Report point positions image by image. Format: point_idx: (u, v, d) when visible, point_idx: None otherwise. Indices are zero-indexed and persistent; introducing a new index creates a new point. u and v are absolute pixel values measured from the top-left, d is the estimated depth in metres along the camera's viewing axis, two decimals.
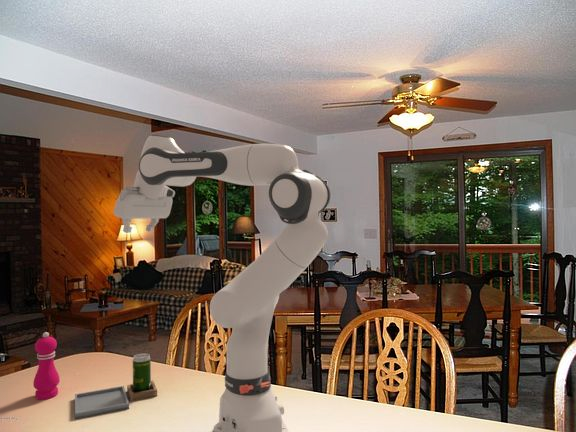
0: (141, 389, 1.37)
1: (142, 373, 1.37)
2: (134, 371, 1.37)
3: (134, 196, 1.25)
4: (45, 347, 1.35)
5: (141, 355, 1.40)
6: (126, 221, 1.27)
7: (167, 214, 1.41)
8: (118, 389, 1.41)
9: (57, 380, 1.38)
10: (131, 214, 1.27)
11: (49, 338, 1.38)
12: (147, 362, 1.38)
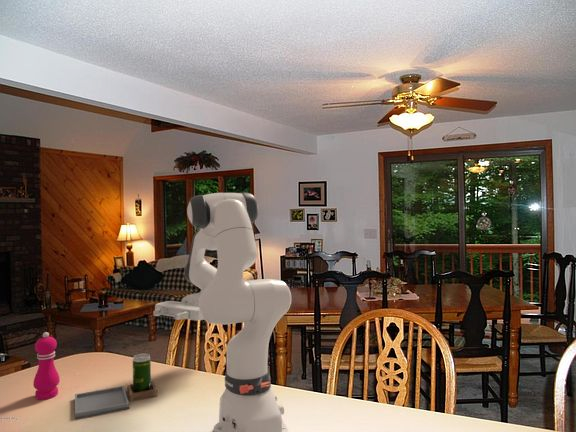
0: (141, 389, 1.37)
1: (142, 373, 1.37)
2: (134, 371, 1.37)
3: (173, 301, 1.62)
4: (45, 347, 1.35)
5: (141, 355, 1.40)
6: None
7: (197, 309, 1.50)
8: (118, 389, 1.41)
9: (57, 380, 1.38)
10: (163, 304, 1.57)
11: (49, 338, 1.38)
12: (147, 362, 1.38)
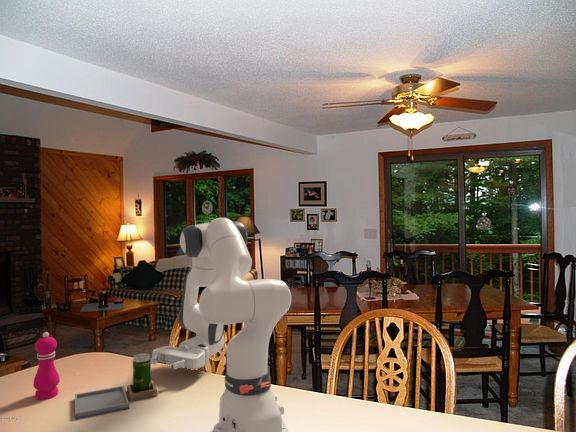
0: (141, 389, 1.37)
1: (142, 373, 1.37)
2: (134, 371, 1.37)
3: (170, 346, 1.61)
4: (45, 347, 1.35)
5: (141, 355, 1.40)
6: None
7: (194, 357, 1.49)
8: (118, 389, 1.41)
9: (57, 380, 1.38)
10: (160, 350, 1.56)
11: (49, 338, 1.38)
12: (147, 362, 1.38)
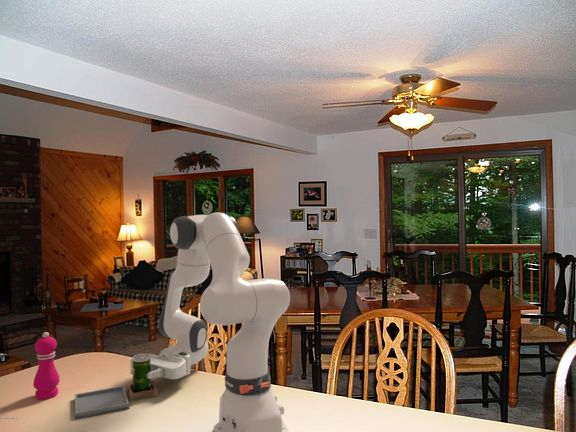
0: (141, 389, 1.37)
1: (142, 373, 1.37)
2: (134, 371, 1.37)
3: (150, 354, 1.52)
4: (45, 347, 1.35)
5: (141, 355, 1.40)
6: None
7: (174, 366, 1.40)
8: (118, 389, 1.41)
9: (57, 380, 1.38)
10: None
11: (49, 338, 1.38)
12: (147, 362, 1.38)
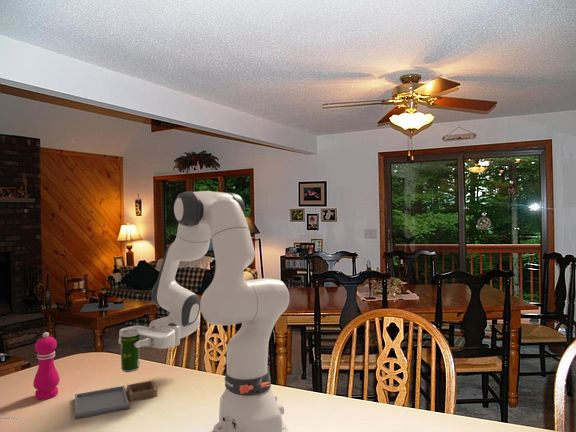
0: (129, 364, 1.35)
1: (130, 348, 1.35)
2: (122, 346, 1.35)
3: None
4: (45, 347, 1.35)
5: (129, 330, 1.38)
6: None
7: (163, 336, 1.37)
8: (118, 389, 1.41)
9: (57, 380, 1.38)
10: None
11: (49, 338, 1.38)
12: (135, 337, 1.36)
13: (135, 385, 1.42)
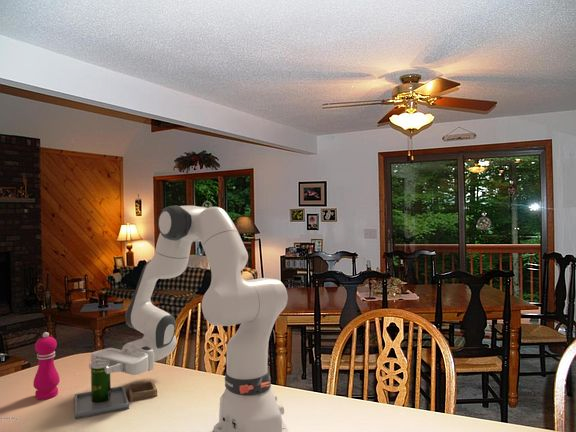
0: (99, 397, 1.30)
1: (100, 380, 1.30)
2: (92, 378, 1.30)
3: (113, 348, 1.45)
4: (45, 347, 1.35)
5: (100, 361, 1.33)
6: None
7: (134, 361, 1.33)
8: (118, 389, 1.41)
9: (57, 380, 1.38)
10: (100, 353, 1.40)
11: (49, 338, 1.38)
12: None
13: (135, 385, 1.42)
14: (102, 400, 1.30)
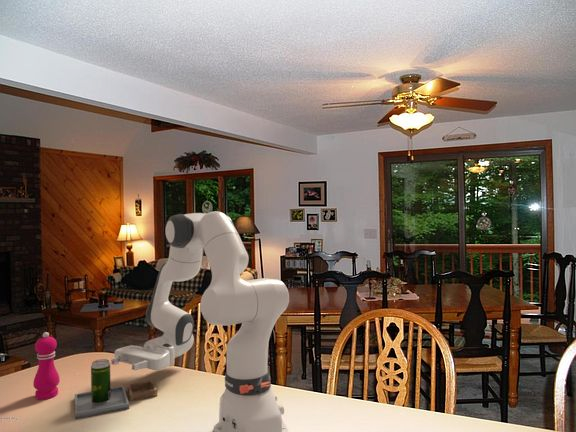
0: (99, 397, 1.30)
1: (100, 380, 1.30)
2: (92, 378, 1.30)
3: None
4: (45, 347, 1.35)
5: (100, 361, 1.33)
6: None
7: (157, 357, 1.41)
8: (118, 389, 1.41)
9: (57, 380, 1.38)
10: (123, 350, 1.48)
11: (49, 338, 1.38)
12: (105, 369, 1.31)
13: (135, 385, 1.42)
14: (102, 400, 1.30)
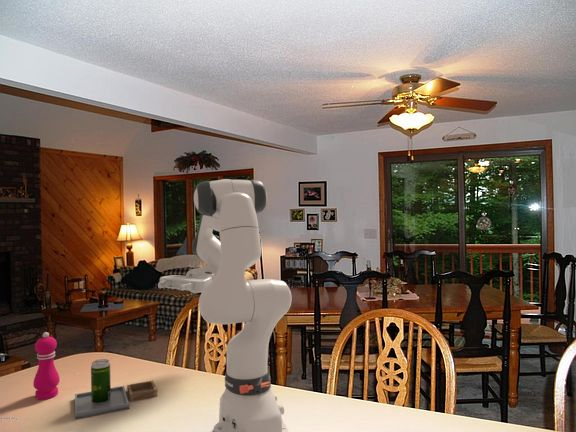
0: (99, 397, 1.30)
1: (100, 380, 1.30)
2: (92, 378, 1.30)
3: (177, 275, 1.63)
4: (45, 347, 1.35)
5: (100, 361, 1.33)
6: None
7: (202, 280, 1.50)
8: (118, 389, 1.41)
9: (57, 380, 1.38)
10: (168, 277, 1.57)
11: (49, 338, 1.38)
12: (105, 369, 1.31)
13: (135, 385, 1.42)
14: (102, 400, 1.30)
